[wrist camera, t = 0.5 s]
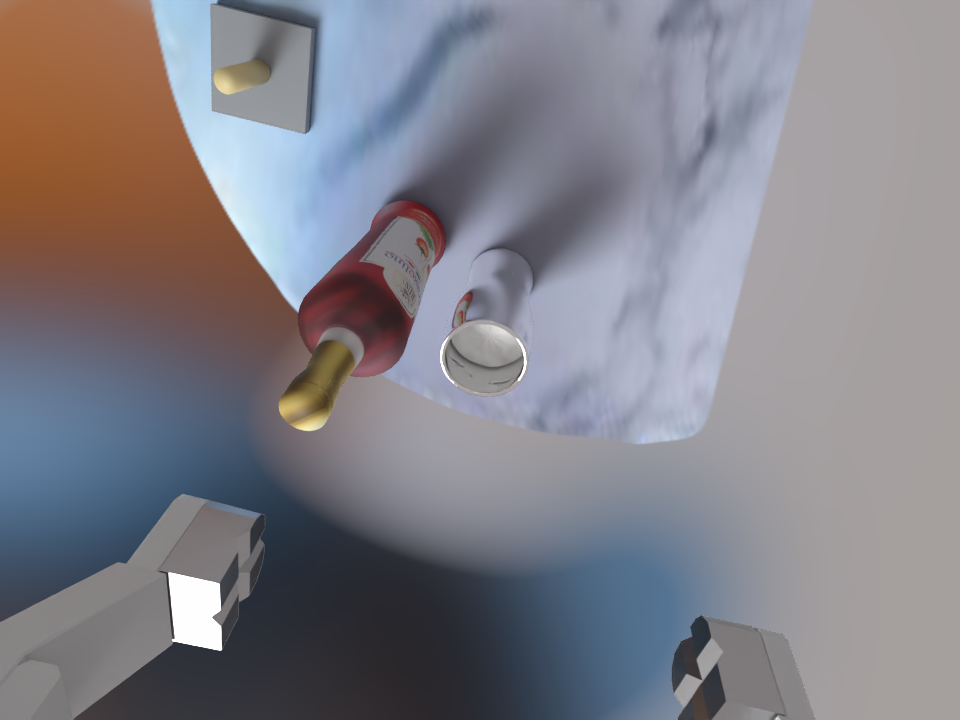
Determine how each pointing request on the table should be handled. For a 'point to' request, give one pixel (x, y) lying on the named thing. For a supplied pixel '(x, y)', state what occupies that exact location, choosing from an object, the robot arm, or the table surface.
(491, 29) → the table surface
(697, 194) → the table surface
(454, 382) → the beer glass
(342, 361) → the liquor
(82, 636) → the robot arm
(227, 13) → the post stand
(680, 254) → the table surface
